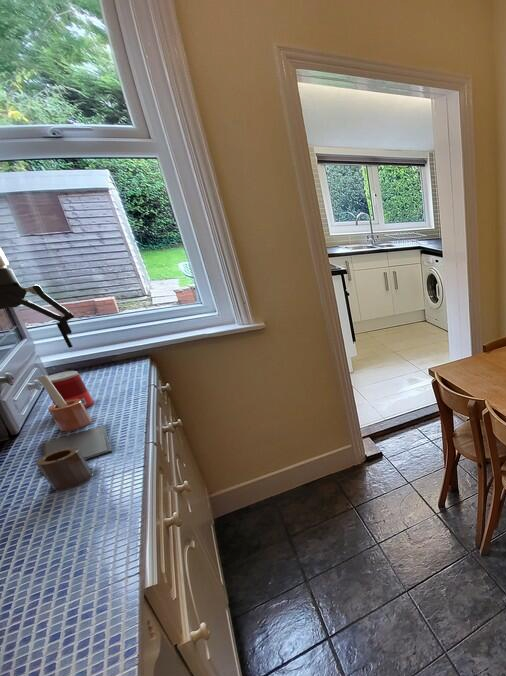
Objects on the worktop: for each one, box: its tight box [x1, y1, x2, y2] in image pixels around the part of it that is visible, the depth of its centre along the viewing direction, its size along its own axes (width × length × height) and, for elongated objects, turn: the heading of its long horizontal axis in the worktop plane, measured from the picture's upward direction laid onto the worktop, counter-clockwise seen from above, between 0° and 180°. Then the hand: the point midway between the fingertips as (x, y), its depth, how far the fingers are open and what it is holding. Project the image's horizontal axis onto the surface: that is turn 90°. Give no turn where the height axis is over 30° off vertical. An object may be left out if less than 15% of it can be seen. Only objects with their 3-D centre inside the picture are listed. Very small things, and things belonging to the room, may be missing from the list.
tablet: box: [40, 424, 113, 477], centre depth 103 cm, size 20×12×1 cm, turn 47°
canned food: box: [46, 370, 94, 409], centre depth 123 cm, size 8×8×11 cm
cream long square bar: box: [37, 374, 68, 408], centre depth 112 cm, size 2×2×15 cm
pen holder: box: [47, 399, 93, 432], centre depth 113 cm, size 6×6×7 cm
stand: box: [35, 447, 94, 491], centre depth 89 cm, size 6×6×7 cm
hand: (33, 353), depth 105 cm, fingers open, 13 cm apart
